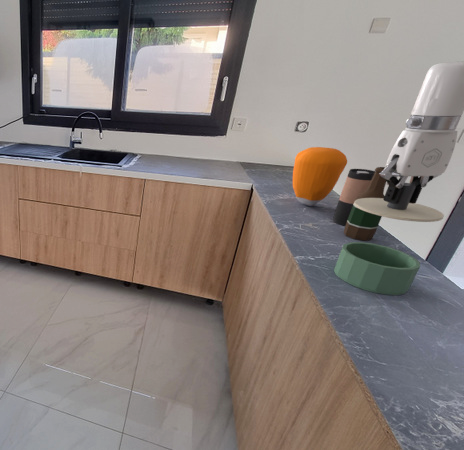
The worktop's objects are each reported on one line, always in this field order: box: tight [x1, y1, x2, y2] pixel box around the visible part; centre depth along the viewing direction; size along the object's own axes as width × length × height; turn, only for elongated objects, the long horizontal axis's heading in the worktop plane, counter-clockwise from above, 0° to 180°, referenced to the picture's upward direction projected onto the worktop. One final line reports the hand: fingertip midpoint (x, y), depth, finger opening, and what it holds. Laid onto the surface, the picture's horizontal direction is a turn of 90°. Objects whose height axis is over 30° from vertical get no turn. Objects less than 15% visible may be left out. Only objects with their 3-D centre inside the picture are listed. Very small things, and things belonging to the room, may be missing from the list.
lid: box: [354, 182, 445, 223], centre depth 76 cm, size 16×16×7 cm
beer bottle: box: [343, 166, 387, 242], centre depth 103 cm, size 8×8×24 cm
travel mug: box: [332, 168, 375, 227], centre depth 114 cm, size 8×8×20 cm
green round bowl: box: [333, 241, 421, 296], centre depth 82 cm, size 15×15×8 cm
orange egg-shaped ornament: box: [292, 146, 348, 207], centre depth 132 cm, size 17×17×25 cm
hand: (399, 201), depth 76 cm, fingers closed on lid, 3 cm apart
